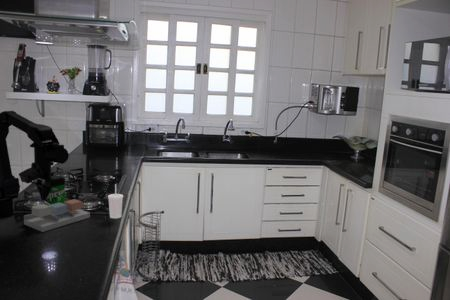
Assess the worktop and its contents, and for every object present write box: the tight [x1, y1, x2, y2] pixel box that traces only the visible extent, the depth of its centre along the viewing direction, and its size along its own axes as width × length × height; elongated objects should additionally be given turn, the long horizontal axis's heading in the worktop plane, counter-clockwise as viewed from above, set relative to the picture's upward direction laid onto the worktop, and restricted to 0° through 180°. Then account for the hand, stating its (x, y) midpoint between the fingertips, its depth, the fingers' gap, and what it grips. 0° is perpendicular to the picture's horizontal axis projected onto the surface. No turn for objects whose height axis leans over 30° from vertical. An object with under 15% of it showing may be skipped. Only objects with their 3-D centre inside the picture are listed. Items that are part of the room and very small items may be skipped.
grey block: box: [31, 203, 51, 217], centre depth 152 cm, size 5×5×3 cm
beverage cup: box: [107, 183, 124, 219], centre depth 166 cm, size 6×6×14 cm
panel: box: [23, 209, 91, 233], centre depth 159 cm, size 12×21×4 cm, turn 147°
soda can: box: [46, 184, 67, 204], centre depth 176 cm, size 8×8×12 cm
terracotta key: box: [64, 198, 83, 211], centre depth 164 cm, size 5×5×3 cm
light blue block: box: [48, 202, 67, 215], centre depth 158 cm, size 5×5×3 cm
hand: (43, 199), depth 152 cm, fingers closed
